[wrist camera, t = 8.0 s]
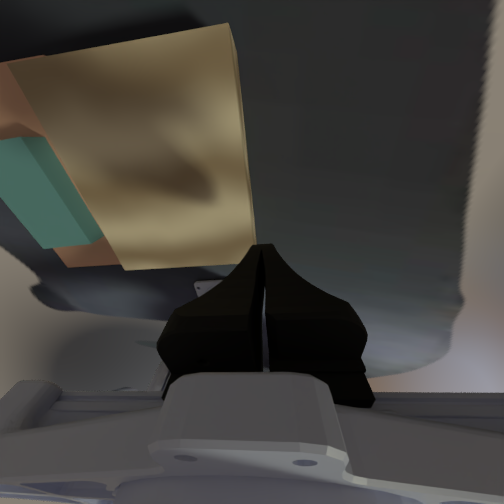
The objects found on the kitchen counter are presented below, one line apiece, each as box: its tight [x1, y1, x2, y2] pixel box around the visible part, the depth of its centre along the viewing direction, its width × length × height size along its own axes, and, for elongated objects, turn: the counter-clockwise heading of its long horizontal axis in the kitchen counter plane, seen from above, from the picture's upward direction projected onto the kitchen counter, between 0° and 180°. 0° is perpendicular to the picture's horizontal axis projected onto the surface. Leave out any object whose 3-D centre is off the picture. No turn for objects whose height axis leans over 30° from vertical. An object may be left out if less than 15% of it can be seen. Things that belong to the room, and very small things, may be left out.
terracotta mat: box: [0, 55, 121, 268], centre depth 19 cm, size 19×11×1 cm, turn 6°
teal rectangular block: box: [0, 137, 104, 249], centre depth 19 cm, size 10×6×2 cm, turn 8°
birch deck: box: [7, 23, 257, 270], centre depth 17 cm, size 16×14×4 cm
